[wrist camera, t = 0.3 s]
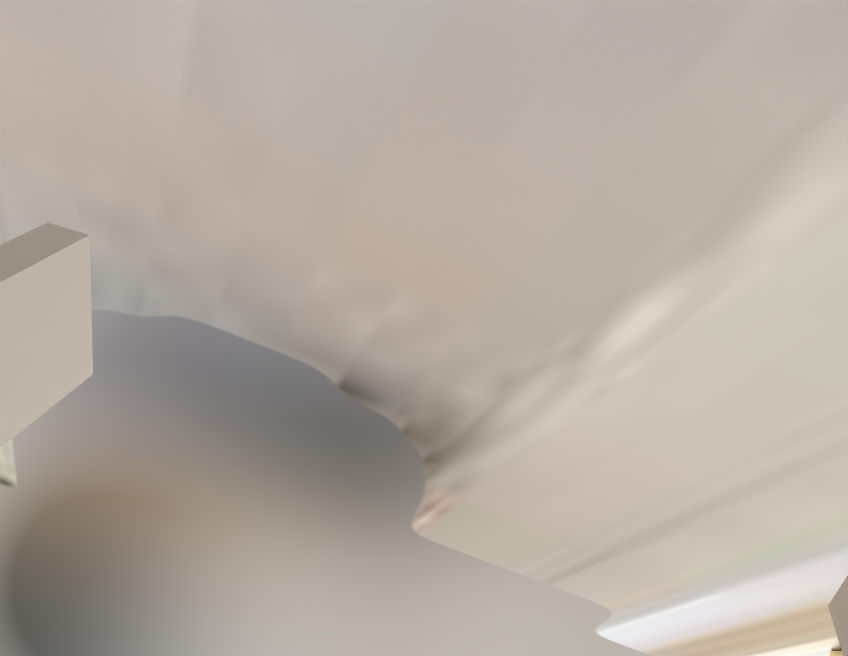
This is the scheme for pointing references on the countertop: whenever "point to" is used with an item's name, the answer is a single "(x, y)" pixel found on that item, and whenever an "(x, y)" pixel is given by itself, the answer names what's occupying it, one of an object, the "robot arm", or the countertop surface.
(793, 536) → the countertop surface
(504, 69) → the countertop surface
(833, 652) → the coffeecake box
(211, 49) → the countertop surface
